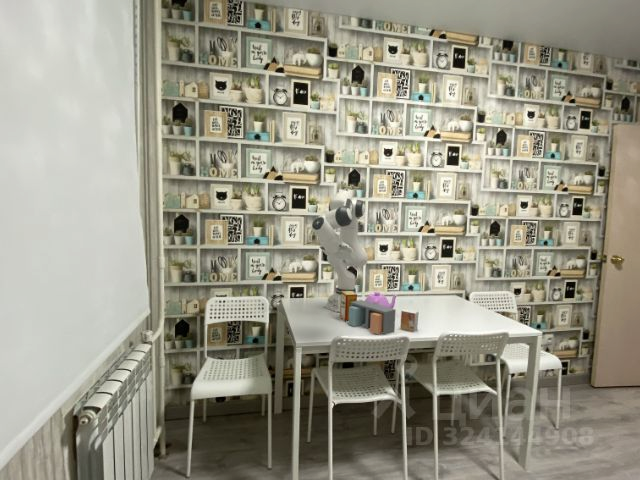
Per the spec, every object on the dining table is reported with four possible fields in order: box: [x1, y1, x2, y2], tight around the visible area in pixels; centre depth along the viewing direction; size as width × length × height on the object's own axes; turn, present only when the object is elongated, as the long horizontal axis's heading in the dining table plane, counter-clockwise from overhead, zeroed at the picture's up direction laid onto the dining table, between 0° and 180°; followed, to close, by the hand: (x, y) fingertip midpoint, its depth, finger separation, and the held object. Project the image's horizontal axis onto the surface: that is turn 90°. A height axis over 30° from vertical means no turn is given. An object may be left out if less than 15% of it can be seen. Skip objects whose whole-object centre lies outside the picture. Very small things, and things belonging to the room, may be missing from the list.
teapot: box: [364, 291, 399, 309], centre depth 251 cm, size 22×22×14 cm
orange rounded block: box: [369, 312, 384, 335], centre depth 217 cm, size 9×5×10 cm, turn 132°
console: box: [351, 299, 397, 335], centre depth 225 cm, size 8×25×12 cm, turn 42°
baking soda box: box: [339, 291, 358, 322], centre depth 239 cm, size 10×6×16 cm
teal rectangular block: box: [347, 306, 366, 327], centre depth 229 cm, size 9×5×10 cm, turn 132°
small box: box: [399, 308, 420, 333], centre depth 223 cm, size 8×6×10 cm
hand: (346, 262), depth 213 cm, fingers closed
